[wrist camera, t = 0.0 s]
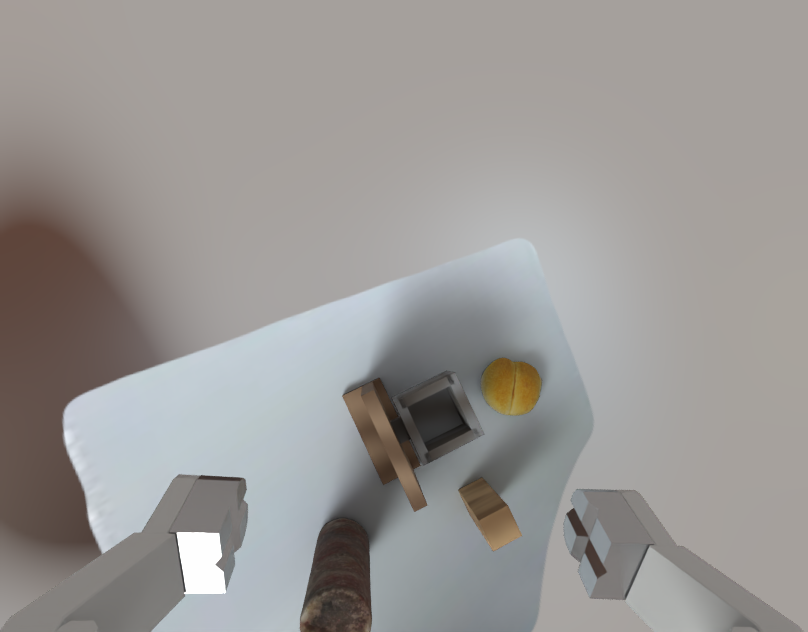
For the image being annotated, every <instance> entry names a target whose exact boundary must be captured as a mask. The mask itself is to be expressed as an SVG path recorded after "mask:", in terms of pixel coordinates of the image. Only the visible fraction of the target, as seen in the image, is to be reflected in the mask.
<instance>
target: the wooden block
mask: <svg viewBox="0 0 808 632" xmlns="http://www.w3.org/2000/svg"><path fill="white" fill-rule="evenodd" d="M458 491H459V493H460V495H461V497H462V499H463V501H464V503H465V506H466V508H467V510H468V512H469V514H470V516H471V517H472V519H473V521H474V522H475V524H476V525H477V527H478V528H479V530H480V531H481V533H482V535H483V536H484V538H485V539H486V541H487V542H488V544H489V546H490V547H491V549H492V550H493V551H495V550H497V549H499V548H500V547H502V546H504V545H506V544H508V543H510V542H511V541H513V540H515V539H517V538H519V537H521V536H522V534H521V532H520V530H519V528H518V526H517V524H516V522H515V519H514V517H513V515H512V513H511V511H510V509H509V507H508V505H507V504H506V503H505V502H504V501H503V500H502V499H501V497H500V496H499V495H498V494H497V493H496V492H495V491H494V490H493V489H492V488H491V487H490V486H489V485H488V483H487V482H486V481H485V480H484V479H483V478H480V479H478V480H476V481H474V482H472V483H470V484H469V485H467V486H465V487H463V488H461V489H459V490H458Z"/></svg>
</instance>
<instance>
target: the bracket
mask: <svg viewBox="0 0 808 632" xmlns="http://www.w3.org/2000/svg"><path fill="white" fill-rule="evenodd" d="M343 399H344V401H345V403H346V405H347V407H348V409H349V412H350V414H351V416H352V418H353V420H354V422H355V425H356V427H357V429H358V431H359V433H360V435H361V438H362V440H363V442H364V444H365V446H366V448H367V451H368V453H369V455H370V457H371V459H372V461H373V464H374V466H375V468H376V470H377V472H378V474H379V477H380V479H381V481H382V483H383V485H384V484H386V483H388V482H390V481H392V480H394V479H396V478H399V480H400V482H401V484H402V486H403V488H404V491H405V493H406V495H407V497H408V499H409V501H410V504H411V506H412V508H413V510H414V512H415V511H417V510H419V509H421V508H423V507H425V506H427V503H426V500H425V498H424V495H423V493H422V490H421V488H420V485H419V483H418V480H417V478H416V475H415V473H414V470H413V469H415V468H417V467H419V466H421V465H420V463H419V461H418V459H417V457H416V455H415V452H414V450H413V448H412V446H411V444H410V442H409V440H410V439H411V440H412V443H413V445H414V447H415V449H416V451H417V453H418V455H419V457H420V459H421V461H422V463H423V465H426V464H428V463H430V462H432V461H434V460H435V459H437V458H439V457H441V456H443V455H445V454H447V453H449V452H451V451H453V450H455V449H457V448H459V447H461V446H463V445H465V444H467V443H469V442H471V441H473V440H475V439H476V438H478V437H480V436H482V435H484V432H483V430H482V428H481V426H480V424H479V422H478V420H477V418H476V415H475V413H474V411H473V409H472V407H471V405H470V403H469V401H468V399H467V396H466V394H465V392H464V390H463V388H462V386H461V384H460V382H459V380H458V378H457V375H456V373H455V372H450V371H445V372H443V373H441V374H439V375H437V376H435V377H433V378H431V379H429V380H427V381H425V382H423V383H421V384H419V385H417V386H415V387H413V388H410V389H408V390H406V391H404V392H402V393H400V394H398V395H396V396H394V397H392V400H393V402H394V404H395V406H396V408H397V410H398V413H399V415H400V416H399V417H398V416H397V414H396V412H395V410H394V407H393V405H392V403H391V401H390V399H389V397H388V395H387V392H386V390H385V388H384V386H383V384H382V382H381V380H380V378H378V379H376V380H374V381H371V382H369V383H367V384H365V385H363V386H361V387H359V388H357V389H355V390H353V391H351V392H349V393H346V394H344V395H343Z"/></svg>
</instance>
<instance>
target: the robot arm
mask: <svg viewBox="0 0 808 632" xmlns="http://www.w3.org/2000/svg"><path fill="white" fill-rule="evenodd" d="M246 490H247V489H246V480H245V479H244V478H239V477H222V476H205V475H201V476H197V475H181V474H179V475H178V476H177V477H175V478H174V479H173V481H172V482H171V484H170V486H169V487H168V489H167V491H166V492H165V494H164V496H163V497H162V499H161V501H160V502H159V504H158V506H157V507H156V509H155V511H154V512H153V514H152V516H151V517H150V519H149V521H148V522H147V524H146V526H145V527H144V529H143V531H142V532H141V533H133V534H132V535H130V536H129V537H127V538H126V539H124V540H123V541H121V542H120V543H118V544H117V545H116V546H114V547H113V548H111V549H110V550H108V551H107V552H105V553H104V554H102V555H101V556H99V557H98V558H97V559H95V560H94V561H92V562H91V563H89V564H88V565H86V566H85V567H83V568H82V569H80V570H79V571H77V572H76V573H75V574H73V575H71V576H70V577H69V578H67V579H66V580H64V581H63V582H61V583H60V584H58V585H57V586H55V587H54V588H52V589H51V590H49V591H48V592H47V593H45V594H44V595H42V596H41V597H39V598H38V599H36V600H35V601H33V602H32V603H30V604H29V605H27V606H26V607H25V608H23V609H22V610H20V611H19V612H17V613H16V614H14V615H13V616H11V617H10V618H9V619H8V621H7V622H6V623H5V625H4V626H3V627H2V629H1V630H0V632H151V631H152V630H153V629H154V627H155V626H156V625H157V624H158V623H159V622H160V621H161V620H162V619H163V618H164V617H165V616H166V615H167V614H168V613H169V612H170V611H171V610H172V609H173V608H174V607H175V606H176V605H177V604H178V603H179V602H180V601H181V600H182V599H183V598H184V597H185V594H190V593H225V592H226V590H227V587H228V584H229V581H230V578H231V575H232V572H233V569H234V566H235V557H234V553H235V552H236V551H237V550H238V549H239V548H240V547H241V546H242V542H243V539H244V536H245V532H246V527H247V521H248V504H247V503H246V502H245V501H244V500H243V498H244V496H245V493H246ZM571 502H572V504H573V506H574V508H573V509H572V510H570V511H569V512H568V513H567V514H566V517H565V521H564V537H565V541H566V545H567V548H568V550H569V552H570V554H571V555H572V556H573V557H574V558H575V559H576V560H578V561H579V562H580V565H579V569H578V573H579V575H580V577H581V580H582V582H583V584H584V586H585V588H586V591H587V593H588V595H589V597H590V598H594V599H616V600H625V603H627V605H628V606H629V607H630V608H631V609H632V610H633V611H634V612H635V613H636V614H637V615H638V616H639V617H640V618H641V619H642V620H643V621H644V622H645V623H646V624H647V625H648V626H649V627H650V628H651V629H652V630H653V631H654V632H803V631H802V629H801V628H800V627H799V626H798V625H796V624H795V623H794V622H792V621H791V620H789V619H788V618H786V617H785V616H784V615H782V614H781V613H779V612H778V611H776V610H775V609H773V608H772V607H770V606H769V605H768V604H766V603H765V602H763V601H762V600H760V599H759V598H757V597H756V596H755V595H753V594H752V593H750V592H749V591H747V590H746V589H744V588H743V587H742V586H740V585H739V584H737V583H736V582H734V581H733V580H731V579H730V578H729V577H727V576H726V575H724V574H723V573H721V572H720V571H718V570H717V569H716V568H714V567H713V566H711V565H710V564H708V563H707V562H705V561H704V560H702V559H701V558H700V557H698V556H697V555H695V554H694V553H692V552H691V551H689V550H688V549H686V548H685V547H683V546H677V545H676V543H675V542H674V541H673V539H672V538H671V537H670V535H669V534H668V532H667V531H666V529H665V528H664V527H663V525H662V524H661V522H660V521H659V520H658V518H657V517H656V515H655V514H654V513H653V511H652V510H651V508H650V507H649V506H648V504H647V503H646V501H645V500H644V498H643V497H642V496H641V494H640V493H638V492H637V491H635V490H593V489H577V490H576V491H575V492H574V493H573V495H572V498H571Z"/></svg>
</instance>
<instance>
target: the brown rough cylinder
mask: <svg viewBox="0 0 808 632" xmlns="http://www.w3.org/2000/svg"><path fill="white" fill-rule="evenodd" d="M371 624H372V612H371V591H370V555H369V540H368V536H367V533H366V532H365V530H364V529H363V528H362V526H360V525H359V524H358V523H357V522H355V521H353V520H349V519H344V518H340V519H336V520H333V521H331V522H329V523H327V524H326V525H325V526H324V527H323V528H322V530H321V531H320V533H319V536H318V540H317V544H316V548H315V553H314V558H313V564H312V568H311V573H310V577H309V582H308V586H307V591H306V596H305V600H304V604H303V609H302V612H301V616H300V631H301V632H370V630H371Z"/></svg>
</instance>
